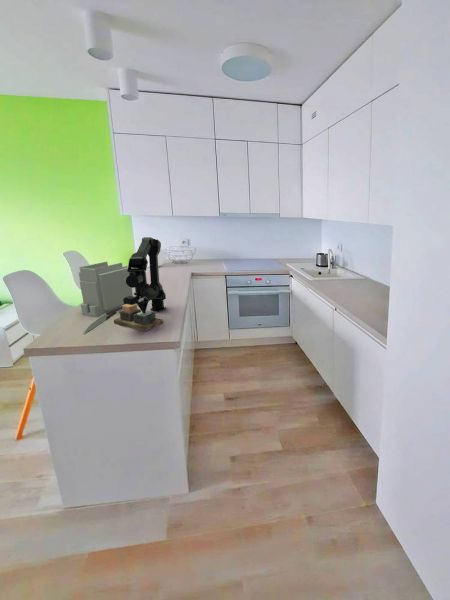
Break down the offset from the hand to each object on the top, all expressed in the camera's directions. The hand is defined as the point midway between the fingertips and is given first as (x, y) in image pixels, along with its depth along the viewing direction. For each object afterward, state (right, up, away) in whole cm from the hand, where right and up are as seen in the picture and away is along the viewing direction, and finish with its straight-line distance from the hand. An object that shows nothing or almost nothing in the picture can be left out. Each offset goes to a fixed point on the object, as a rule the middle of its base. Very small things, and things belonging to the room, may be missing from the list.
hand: (144, 312), depth 141 cm
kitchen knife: (-24, -6, +6) cm, 25 cm away
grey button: (0, -4, +1) cm, 4 cm away
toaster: (-29, +2, +29) cm, 41 cm away
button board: (-4, -5, +4) cm, 8 cm away
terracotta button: (-9, 0, +5) cm, 10 cm away
